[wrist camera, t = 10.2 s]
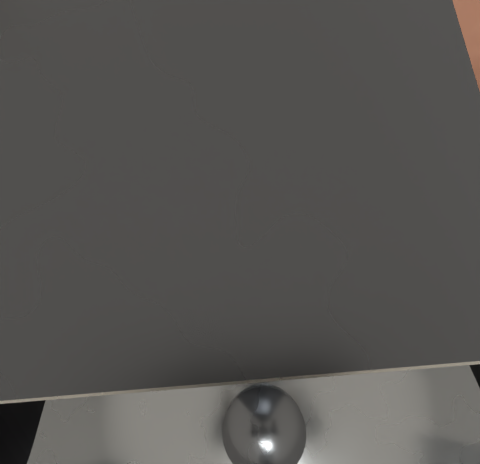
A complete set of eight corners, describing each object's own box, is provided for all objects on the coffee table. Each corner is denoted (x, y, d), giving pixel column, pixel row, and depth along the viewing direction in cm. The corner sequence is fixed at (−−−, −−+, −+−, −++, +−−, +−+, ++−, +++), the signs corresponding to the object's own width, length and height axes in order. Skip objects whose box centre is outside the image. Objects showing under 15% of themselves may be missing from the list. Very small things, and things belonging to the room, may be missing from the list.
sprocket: (564, 879, 12) (642, 1019, 9) (-83, 676, 14) (-154, 746, 12) (544, 206, 17) (590, 186, 15) (85, 143, 20) (60, 117, 17)
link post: (322, 341, 15) (577, 368, 3) (191, 352, 15) (-100, 421, 3) (305, 216, 16) (423, -127, 4) (186, 228, 16) (-28, -66, 4)
